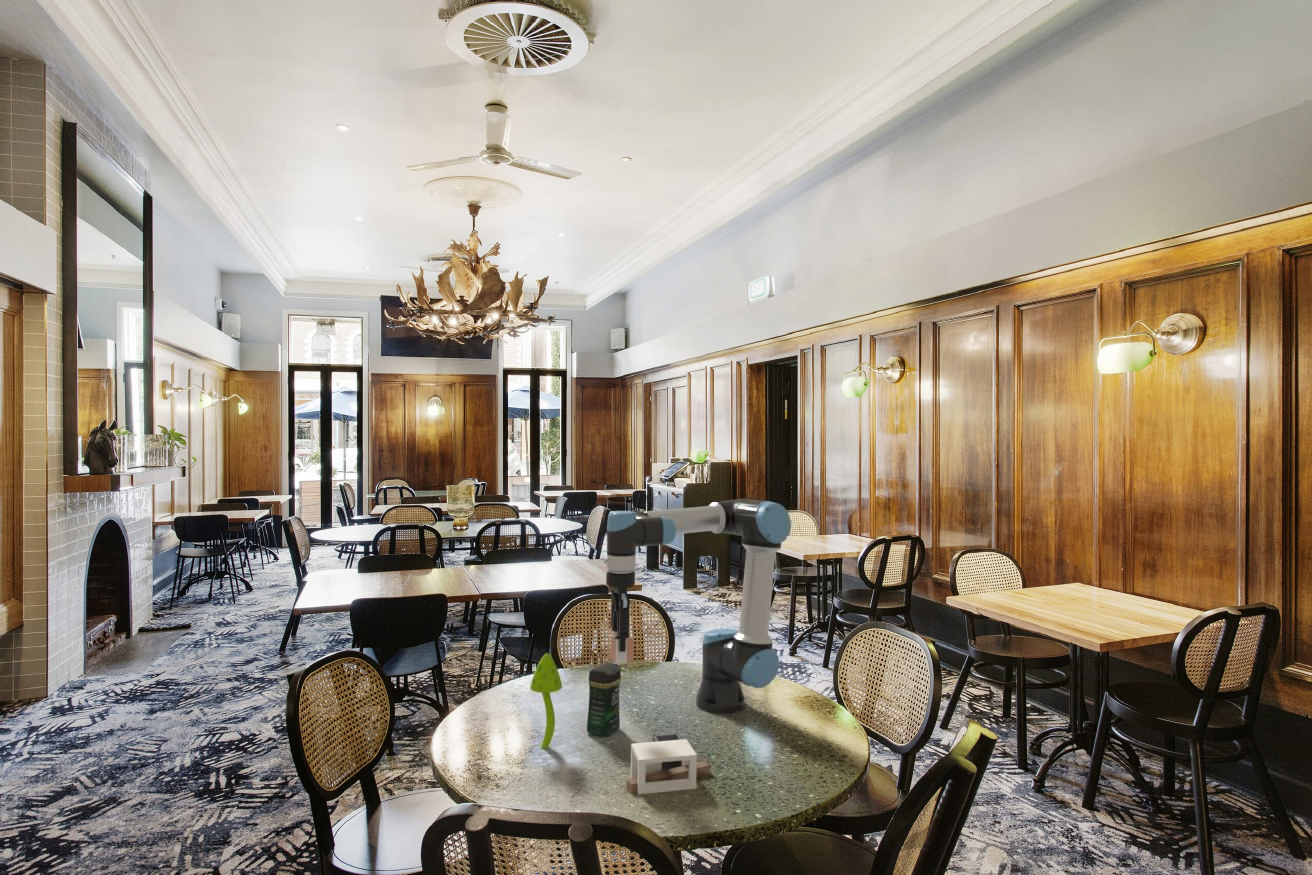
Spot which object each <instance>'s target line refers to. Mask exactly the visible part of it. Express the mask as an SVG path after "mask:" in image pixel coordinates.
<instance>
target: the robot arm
mask: <svg viewBox="0 0 1312 875" xmlns="http://www.w3.org/2000/svg"><path fill="white" fill-rule="evenodd" d="M791 529H792V521H791V517H790V514H789V512H788V511H787V509H786V507H784V506H783V505H782V504H780V503H777V502H773V501H769V500H759V499H757V500H756V499H750V498H737V499H732V500H731V499H729V500H724V501H717V502H715V501H714V502H711V503H710V504H709V505H706V506H697V507H684V508H683V507H681V508H670V509H659V510H657V509H655V510H648V511H647V510H646V511H645V510H644V511H636V512H635V511H633V510H632V511H631V510H613V511H611V512H609V513H608V515H607V522H606V558H604V562H605V563H606V570H607V571H606V574H605V576H606V578H605V584H606V586H607V587H610V588H613V589H611V590H610V595H611V598H610V599H611V600H610V601H611V602H610V604H611V605H610V608H611V609H610V627H611V636H614V635H617V637H615V639H616V662H615V664H618V665H624V664H625V665H626V664H627V663H628V662H627V638H629V636H630V609H631V608H630V606H631V600H630V594H629V593H628V588H633V587H635V584H636V572H635V570H636V565H637V564H636V556H637V555H636V549H637V548H640V547H648V546H650V547H652V546H664V545H670V544H671V543H673V542H674V541H675V538H676V535H682V534H683V535H684V534H692V533H693V534H694V533H700V532H701V533H703V532H712V533H713V534H729V535H736V536H741V537H742V538H741V545H742V547H743V548H744V549H745V562H744V563H745V564H744V573H743V574H744V575H743V582H742V583H743V584H742V585H743V586H742V595H741V604H740V607H741V608H740V616H739V619H740V620H739V628H738V629H733V628H716V629H711V630H708V631H706V632H705V633H704V634H703V639H702V678H701V681H700V684H699V687H698V690H697V692H696V698H695V700H696V701H695V703H696V706H697V708H700V709H701V710H702V711H703V710H704V711H707V712H710V713H714V714H733V713H737V712H739V711H742V710H744V708H745V706H746V705H745V702H746V699H745V694H744V691H743V688H742V685H741V683H742V684H744V685H745V686H748V687H753V688H756V689H763V688H764V687H767V686H769V685H770V684H771V683H772V681H774V680H775V678H776V676H777V674H778V673H779V672H778V671H779V669H780V659H779V657H778V654H777V653H776V652H775V651H774V650H773V642H774V641H773V639H772V638H771V636H770V635H769V628H770V619H771V618H770V617H771V608H772V607H771V606H772V605H771V604H772V595H773V584H774V583H773V581H774V572H775V571H774V570H775V559H776V553H777V552H779V551H780V550H781V548H782V543H783V542H785V541H786V540H787V538H788V537H789V536H790V534H791Z"/></svg>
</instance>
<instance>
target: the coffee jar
mask: <svg viewBox="0 0 1312 875" xmlns="http://www.w3.org/2000/svg"><path fill="white" fill-rule="evenodd" d="M621 669H622V668H621V667H620V666H619V664H616V663H613V662H608V661H606V662H605V663H602V664H600V665H597V666H595V667H593V668H592V669H589V672H588V687H589V690H588V691H589V694H588V696H589V697H588V707H587V708H588V711H587V721H586V731H587V733H588V734H589V735H591V736H593V737H597V738H600V737H603V738H604V737H605V738H607V737H610V736H612V735H613V734H615V733H616V732H617V731H618V730H620V726H621V724H620V723H621V722H620V721H621V719H620V687H621V686H620V685H621V681H622V674H621V673H622V672H621V671H622V670H621Z"/></svg>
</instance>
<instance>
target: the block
mask: <svg viewBox="0 0 1312 875" xmlns="http://www.w3.org/2000/svg"><path fill="white" fill-rule="evenodd" d="M615 637H617V635H614V636H612V635H611V636H610V660H612V661H614V662H615V663H616V639H615ZM634 652H635V637H633V636H631V635H629V638H627V663H631V662H634V660H635V659H634V658H635V653H634Z"/></svg>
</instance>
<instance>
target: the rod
mask: <svg viewBox="0 0 1312 875" xmlns="http://www.w3.org/2000/svg"><path fill="white" fill-rule="evenodd" d="M688 771H689V764H687V765H685V766H681V767H677V768H673V769H669V770H665V771H660V772H656V773H652V774H648V775H645V783H647V782H657V781H667V780H677V779H687V778H688ZM710 774H711V764H710V763H709V762H707V761H706V760H703V761H702V760H701V761H697V769H696V778H698V777H702V776H706V775H710ZM625 788H626V791H628V792H629V793H630V794H634V793H637V777H636V778H631V777H630V778H628V779H626V787H625Z"/></svg>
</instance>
